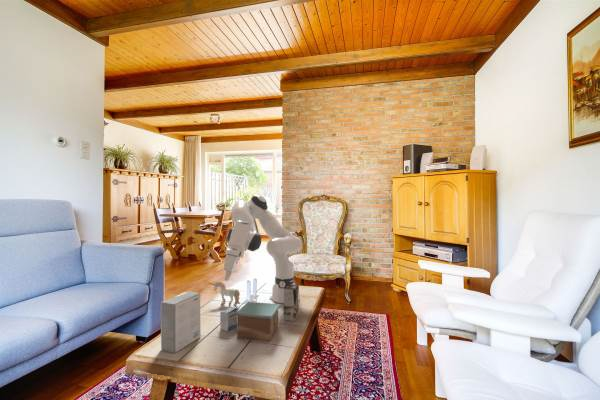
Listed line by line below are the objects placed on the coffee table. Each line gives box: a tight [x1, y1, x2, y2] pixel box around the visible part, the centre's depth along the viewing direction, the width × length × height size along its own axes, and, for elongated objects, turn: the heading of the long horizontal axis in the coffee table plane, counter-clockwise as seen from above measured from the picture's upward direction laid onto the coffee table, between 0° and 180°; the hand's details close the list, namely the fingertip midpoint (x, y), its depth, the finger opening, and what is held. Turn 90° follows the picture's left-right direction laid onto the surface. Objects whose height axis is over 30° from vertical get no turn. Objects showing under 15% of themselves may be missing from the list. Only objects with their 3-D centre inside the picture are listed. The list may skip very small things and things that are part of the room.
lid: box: [236, 301, 281, 319], centre depth 135 cm, size 16×16×1 cm
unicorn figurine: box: [207, 281, 241, 307], centre depth 172 cm, size 7×20×13 cm, turn 82°
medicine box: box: [219, 306, 238, 332], centre depth 141 cm, size 8×4×9 cm, turn 158°
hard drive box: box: [160, 290, 202, 354], centre depth 125 cm, size 16×8×20 cm, turn 159°
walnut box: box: [236, 310, 279, 343], centre depth 135 cm, size 14×15×10 cm
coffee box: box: [283, 284, 300, 322], centre depth 154 cm, size 9×6×16 cm
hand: (226, 280), depth 141 cm, fingers closed
